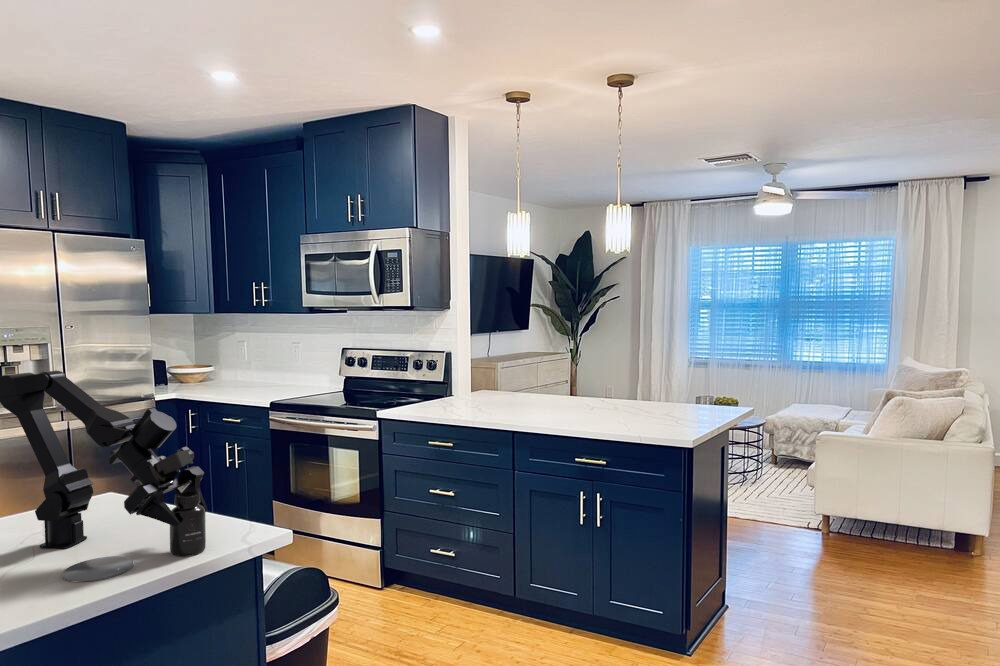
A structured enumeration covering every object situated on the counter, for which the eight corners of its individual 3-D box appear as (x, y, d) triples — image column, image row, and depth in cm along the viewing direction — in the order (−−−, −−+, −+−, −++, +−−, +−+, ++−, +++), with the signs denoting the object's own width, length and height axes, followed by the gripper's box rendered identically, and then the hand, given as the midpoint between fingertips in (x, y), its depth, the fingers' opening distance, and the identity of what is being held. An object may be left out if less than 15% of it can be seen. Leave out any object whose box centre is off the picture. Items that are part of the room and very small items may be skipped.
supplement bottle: (192, 558, 140) (190, 499, 140) (162, 556, 142) (161, 498, 141) (213, 546, 147) (211, 490, 147) (184, 545, 148) (182, 489, 148)
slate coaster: (46, 581, 129) (46, 578, 129) (90, 558, 141) (90, 555, 141) (107, 582, 128) (107, 580, 128) (146, 559, 140) (146, 556, 140)
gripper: (134, 446, 135) (187, 504, 133) (194, 429, 154) (241, 480, 152) (101, 485, 137) (152, 543, 135) (164, 464, 155) (210, 514, 154)
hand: (192, 518), depth 144 cm, fingers open, 9 cm apart
